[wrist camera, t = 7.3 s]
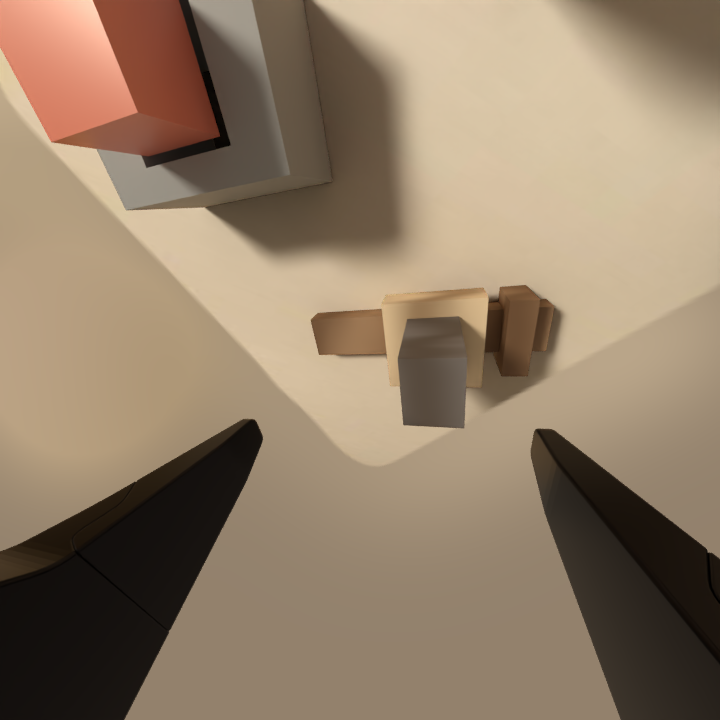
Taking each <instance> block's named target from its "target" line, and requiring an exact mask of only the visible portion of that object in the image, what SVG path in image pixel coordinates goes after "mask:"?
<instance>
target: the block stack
mask: <svg viewBox="0 0 720 720" xmlns="http://www.w3.org/2000/svg"><path fill="white" fill-rule="evenodd" d="M488 299H489V297H488V295H487V294H486V292H485V290H484V288H473V289H460V290H447V291H433V292H420V293H407V294H394V295H386V297H385V298H384V300H383V302H382V304H381V307H382V316H383V325H384V334H385V343H386V352H387V361H388V370H389V380H390V386H400V392H401V403H402V414H403V425H411V426H430V427H449V428H464V420H465V399H466V387H480V388H482V375H483V362H484V350H485V337H486V324H487V312H488Z"/></svg>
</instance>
